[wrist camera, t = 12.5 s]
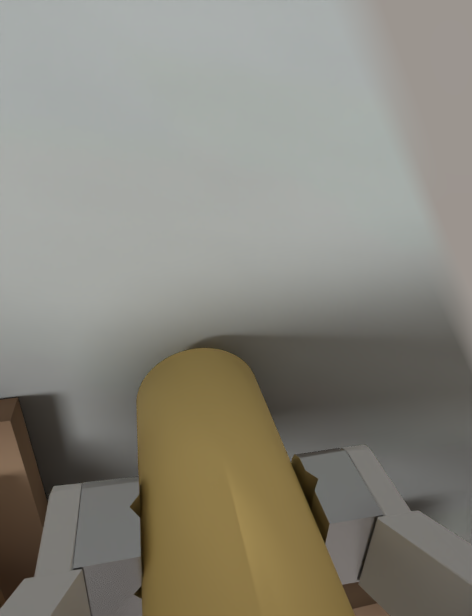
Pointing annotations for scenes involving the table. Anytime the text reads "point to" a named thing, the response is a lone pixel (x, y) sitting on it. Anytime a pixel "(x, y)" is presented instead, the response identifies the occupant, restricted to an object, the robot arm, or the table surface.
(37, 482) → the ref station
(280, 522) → the pin
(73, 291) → the table surface
